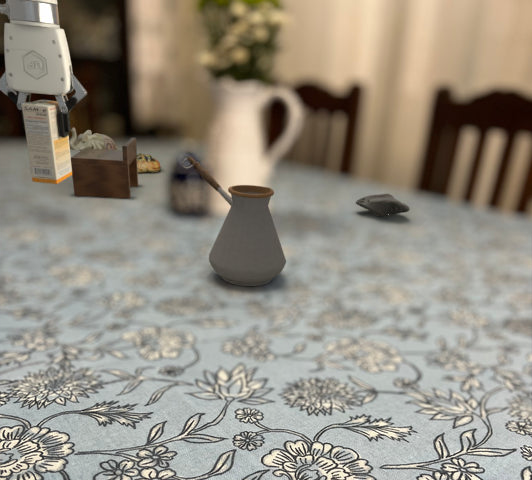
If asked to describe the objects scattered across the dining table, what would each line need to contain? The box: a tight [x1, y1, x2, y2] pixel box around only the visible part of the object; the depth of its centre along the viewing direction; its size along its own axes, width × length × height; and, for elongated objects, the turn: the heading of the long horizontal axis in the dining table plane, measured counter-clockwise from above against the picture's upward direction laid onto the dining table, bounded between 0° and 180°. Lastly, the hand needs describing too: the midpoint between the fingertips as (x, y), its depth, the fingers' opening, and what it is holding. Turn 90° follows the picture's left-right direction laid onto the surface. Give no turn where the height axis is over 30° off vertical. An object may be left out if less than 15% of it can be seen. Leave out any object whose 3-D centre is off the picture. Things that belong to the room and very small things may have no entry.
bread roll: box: [137, 152, 162, 173], centre depth 145 cm, size 11×11×5 cm
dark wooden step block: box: [71, 137, 139, 200], centre depth 118 cm, size 12×14×11 cm
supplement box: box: [22, 99, 72, 185], centre depth 94 cm, size 8×5×13 cm, turn 178°
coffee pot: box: [181, 155, 287, 287], centre depth 77 cm, size 21×12×15 cm, turn 42°
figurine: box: [69, 127, 119, 152], centre depth 129 cm, size 10×14×15 cm, turn 138°
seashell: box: [355, 193, 411, 218], centre depth 116 cm, size 12×6×10 cm
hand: (47, 134), depth 93 cm, fingers closed on supplement box, 5 cm apart
